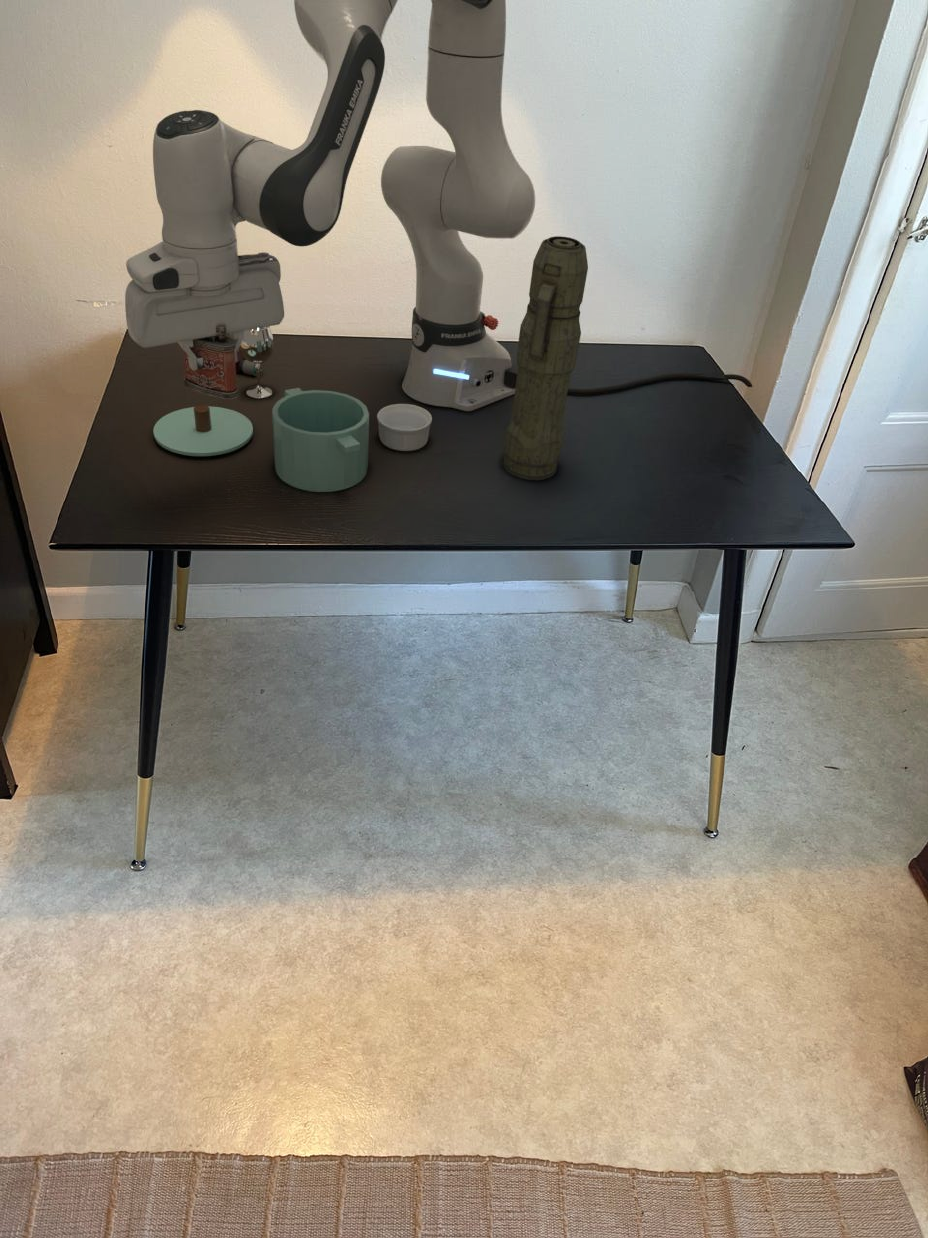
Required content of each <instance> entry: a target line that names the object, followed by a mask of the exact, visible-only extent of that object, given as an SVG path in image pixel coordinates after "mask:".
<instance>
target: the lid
mask: <svg viewBox="0 0 928 1238" xmlns="http://www.w3.org/2000/svg"><path fill="white" fill-rule="evenodd" d="M152 431H153V433H152V434H153V438H154V441H155V442H156V443H157V444H158V445H159V446H161V448H163V449H164V450H167V451H169V452H172V453H175V454H179V455H182V456H190V457H212V456H218V455H225V454H229V453H231V452H234V451H237V450H239V449H240V448H242V447H244V446H245V445H246V444H248V443H249V442H250V441H251V439H252V437H253V435H254V427H253V423H252V421H251V420H250V419H249V418H248V417H247V416H245V415H244V414H242V413H240V412H239V411H236V410H233V409H229V408H225V407H219V406H209V405H205V404H199V405H195V406H191V407H185V408H181V409H178V410H174V411H172V412H168V413H167V414H166V415H164V416H161V418H160V419H158V420H157V422H156V423H155V425H154V426H153V429H152Z"/></svg>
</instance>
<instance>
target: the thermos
mask: <svg viewBox="0 0 928 1238" xmlns="http://www.w3.org/2000/svg"><path fill="white" fill-rule="evenodd" d="M588 271H589V265H588V256H587V248H586V245H584V244H583V243H582V242H581V241H579V240H578V239H575V238H572V237H568V236H561V235H559V236H557V235H556V236H550V237H548V238H545V239H543V240H542V241H541V243H540V246H539V248H538V250H537V252H536V254H535V257H534V259H533V262H532V268H531V276H530V277H531V278H530V283H529V284H530V285H529V290H528V291H529V293H528V297H529V301H528V304H527V307H526V313H525V315H524V317H523V319H522V321H521V323H520V326H519V335H518V340H517V341H518V342H517V350H516V356H515V358H516V363H517V364H518V373H517V381H516V388H515V394H514V396H513V404H512V405H513V406H512V410H511V411H512V412H511V419H510V424H509V426H508V428H507V429H506V430H505V436H504V437H505V438H504V445H503V450H504V456H503V460H502V465H503V468H504V469H505V471H506V472H507V473H509V474H510V475H511V476H513V477H517V478H519V479H523V480H527V481H543V480H546V479H550V478H551V477H553V476H554V475H555V474H556V472H557V468H558V461H559V458H560V457H561V452H562V446H563V440H564V439H563V438H564V429H563V420H564V414H565V409H566V402H567V397H568V394H567V392H568V388H569V385H570V380H571V374H572V372H573V371H574V369H575V367H576V365H577V357H578V353H579V347H580V341H581V336H582V330H581V322H580V316H581V310H580V308H581V305H582V303H583V299H584V293H585V288H586V281H587V276H588Z"/></svg>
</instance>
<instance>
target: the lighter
mask: <svg viewBox="0 0 928 1238" xmlns="http://www.w3.org/2000/svg"><path fill="white" fill-rule="evenodd" d="M216 333H217V334H218V335H216V336H211V337H205V338H199V339H194V340H193V347H189V348H190V349H191V351H192V352H193V353H194V354H195V355H198V356H201V357H203V361H204V362H203V365H204V368H203V369H199V370H195V371H193V370H192V369H191V368H190V366H189V362H188V355H187V354H186V353H185V351H184V350H183V349H182V359H183V366H184V367H183V370H184V377H183V383H184V384H183V385H184V386H185V387H186V388H189V389H190V390H192V391H195V392H197V393H200V394H203V395H207V396H209V397H214V398H219V399H223V400H233V399H236V398H238V397H239V388H238V385H237V372H236V368H235V348H236V342H235V340H233V339H231V338H230V337H228V336H227V334H226V325H220V326H216Z"/></svg>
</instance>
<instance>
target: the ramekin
mask: <svg viewBox="0 0 928 1238" xmlns="http://www.w3.org/2000/svg"><path fill="white" fill-rule="evenodd" d="M376 419H377V423H378V437H379V440H380V442H381V443H382V444H383V445H384V446H385V447H387V448H389V449H391V450H394V451H398V452H413V451H417V450H420V449H421V448H423V447H425V446H426V445H427V442H428V441H429V435H430V430H431V429H430V428H431V425H432V421H433V417H432V414H431V413H430V412H429V410H427V409H425V408H424V407H421V406H418V405H416V404H410V403H394V404H389V405H386V406H384V407H382V408H381V409H380V410H378V412H377V414H376Z"/></svg>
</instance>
